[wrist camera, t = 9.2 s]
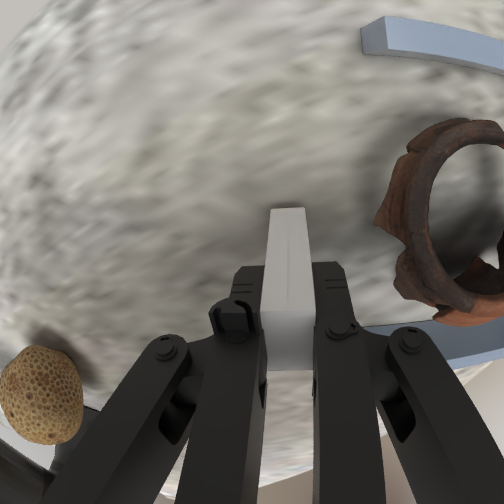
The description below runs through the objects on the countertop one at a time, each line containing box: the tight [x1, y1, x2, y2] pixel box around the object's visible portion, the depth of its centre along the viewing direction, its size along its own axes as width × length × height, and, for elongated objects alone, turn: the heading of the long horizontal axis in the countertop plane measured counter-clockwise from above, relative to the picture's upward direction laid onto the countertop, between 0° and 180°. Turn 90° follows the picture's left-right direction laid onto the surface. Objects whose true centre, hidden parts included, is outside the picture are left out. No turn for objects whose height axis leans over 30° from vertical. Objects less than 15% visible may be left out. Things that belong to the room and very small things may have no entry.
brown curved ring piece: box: [373, 118, 504, 327], centre depth 11 cm, size 12×10×8 cm
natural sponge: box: [0, 345, 83, 445], centre depth 21 cm, size 9×9×10 cm
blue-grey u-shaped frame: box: [360, 16, 504, 370], centre depth 12 cm, size 18×14×4 cm
